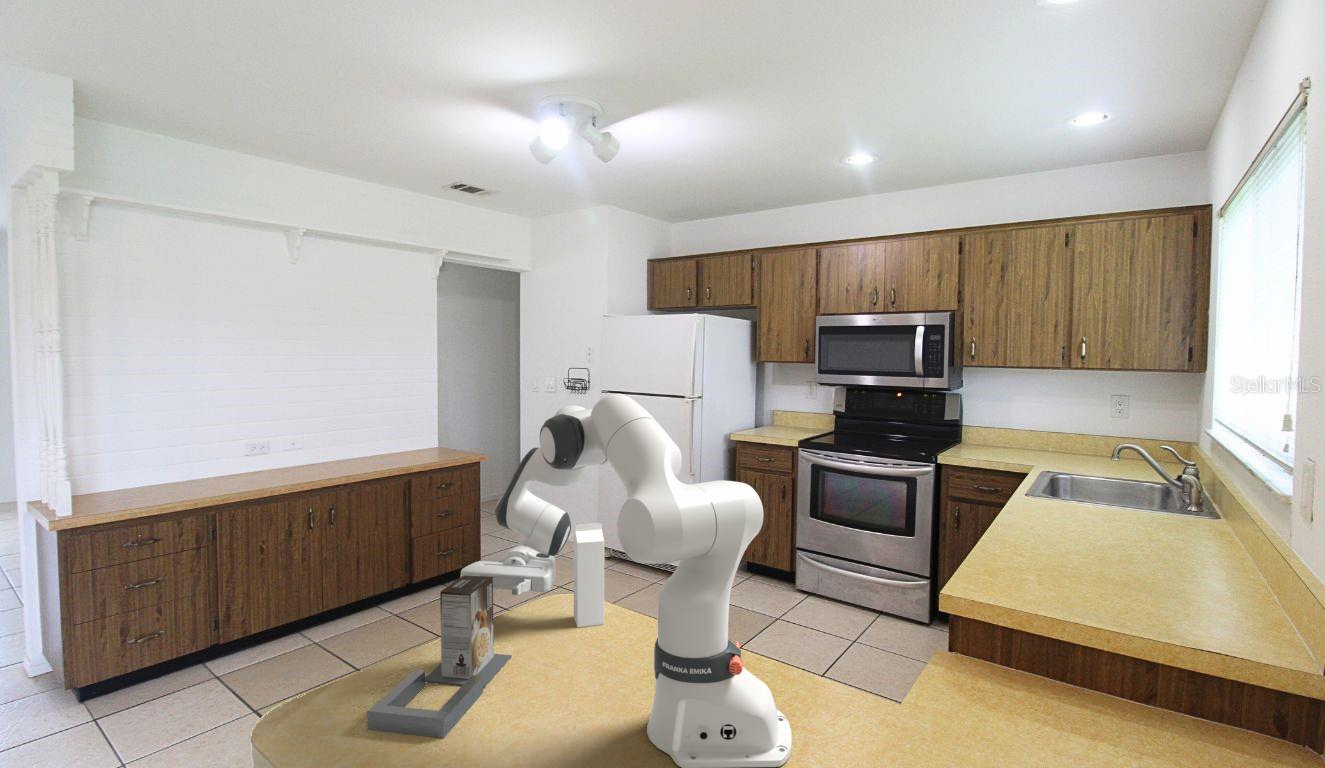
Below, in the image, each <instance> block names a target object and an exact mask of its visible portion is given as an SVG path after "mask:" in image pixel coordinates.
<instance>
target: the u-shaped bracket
mask: <svg viewBox="0 0 1325 768" xmlns="http://www.w3.org/2000/svg"><path fill="white" fill-rule="evenodd" d="M425 677H426V670H424V669H423V670H419V669H414V670H413V671H411V672H410V674H408V675H407V676H406V677H405V678H404V679H402V680H401V681H400V682H399V683H397V685H395V686H394V687H393V688H392V689H391V690H390V691H389V692H387V693H386V694H385V695H384V696H383V697H381V698H380V699H379V700H378V701H377V702H376V703H375V704H374V705H372V706H371V707H370V708H369V709H368V710H367V711H366V723H367V725H366V726H367V730H368V731H375V732H376V731H377V732H382V733H383V732H386V733H394V734H402V735H411V736H420V737H431V738H439V739H445V738H446V736H447V735H448V734H449V733H450V732H451V731H452V730H453V728H454V727H455V726H456V725H457V724H458V723H459V722H460V720H461V719H462V718H463V716H465V715H466V713H467V712H468V711H469V710H470V709H471V708H472V706H474V704H475V703H476V702H477V701H478V700H479V698H480V697H481V696H482V695H483V694H484V688H483V676H477V675H472V676H471V677H470V678H469V679H468V680H467V681H466V682H465V683H464V684H463V686H460V687H459V688H458V689H457V691H456V692H455V693H454V694H453V695H451V697H450V698H449V699H448V700H447V701H446V702H445V703H444V704H443V705H442V707H440V709H438V710H436V709H435V710H433V709H425V708H424V709H423V708H415V707H406V706H407V705H408V704H409V703H410V702H412V700H414V699H415V698H416V697H417V696H418V695H419V694H420V693H421V692H422V691H423V690H424V689H425V688H426V683H425ZM424 687H425V688H424ZM422 689H423V690H422ZM420 691H421V692H420ZM419 692H420V693H419ZM418 693H419V694H418ZM482 693H483V694H482ZM417 694H418V695H417ZM416 695H417V696H416ZM415 696H416V697H415ZM414 697H415V698H414Z"/></svg>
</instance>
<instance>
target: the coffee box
mask: <svg viewBox="0 0 1325 768" xmlns="http://www.w3.org/2000/svg"><path fill="white" fill-rule="evenodd" d="M460 577H461V576H460ZM460 577H459V578H457V579H456V580H455V581H454V582H452V583H450V584H449V585H447V586H446V587H445V588H443V589H442V590H441V591H440V592H439V593H440V595H439V596H440V597H439V598H440V599H439V600H440V601H439V603H440V604H439V605H440V652H441V653H440V655H441V656H440V658H441V660H440V661H441V662H440V663H441V673H442V677H450V678H461V679H469V678H470V677H471V676H472V675H477V674H478V673H479V672H480V671H481V670H482V669H483V668H484V667H485V666H486V665H487V663H488V662H489V661H490V660H491V659H492V658H493V657H494V654H495V650H494V649H495V648H494V647H495V646H494V645H495V644H494V643H495V642H494V640H495V639H494V636H495V635H494V632H495V631H494V588H493V577H486V576H465V575H464V576H462V577H461V578H460Z"/></svg>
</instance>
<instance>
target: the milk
mask: <svg viewBox="0 0 1325 768" xmlns="http://www.w3.org/2000/svg"><path fill="white" fill-rule="evenodd" d="M602 527H603V525H602V523H601V522H596V523H595V522H594V523H584V524H582V523H580V524H576V525H575V529H574V530H575V532H574V533H573V619H574V621H575V624H576V627H577V628H584V627H594V626H602V625H605V539H604V534H603V528H602Z"/></svg>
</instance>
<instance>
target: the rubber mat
mask: <svg viewBox="0 0 1325 768" xmlns="http://www.w3.org/2000/svg"><path fill="white" fill-rule="evenodd" d="M512 657H513V655H512V654H503V653H502V654H501V653H494V657H493V658H492V659H491V660H490V661H489V662H488V663H487V665H486V666H485V667H484V668H483V669H482V670H481V671H480V672H479V673H478V674H477V676H483V689H485V688H487V686H488V685H489V684H490V682H492V680H493V679H494V678H495V677H496V676H497V674H499V672H500V671H501V670H502V669H503V668H504V667H505V665H506V664H507V663H508V662H509V661H510V660H511V658H512ZM509 659H510V660H509ZM508 660H509V661H508ZM507 661H508V662H507ZM506 662H507V663H506ZM502 667H503V668H502ZM501 668H502V669H501ZM500 669H501V670H500ZM495 675H496V676H495ZM494 676H495V677H494ZM467 680H468V679H461V678H450V677H442V673H441V662H440V663H439V664H438V665H437V666H436V667H435V668H434V669H433V670H431V671H430V672H429V673H428V674H427V675H425V682H427V683H426V684H434V683H438V684H437V685H445V684H446V685H445V686H447V684H448V686H455V685H456V687H457V686H458V687H462V686H463V684H464V683H465V682H466V681H467ZM488 683H489V684H488ZM487 684H488V685H487ZM486 685H487V686H486Z"/></svg>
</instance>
